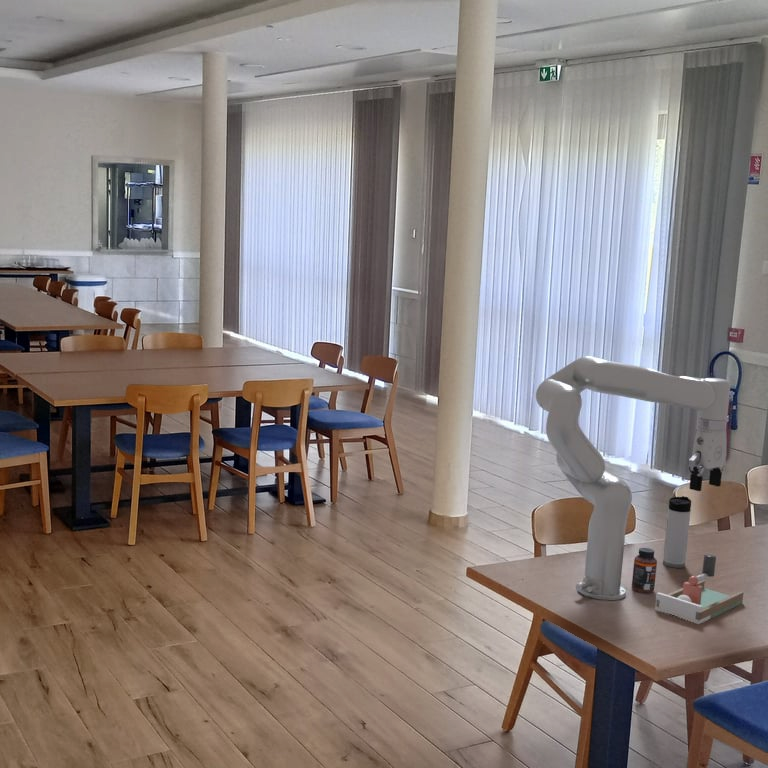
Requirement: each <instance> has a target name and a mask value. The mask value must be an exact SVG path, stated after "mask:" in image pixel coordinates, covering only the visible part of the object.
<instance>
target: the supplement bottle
mask: <svg viewBox="0 0 768 768" xmlns="http://www.w3.org/2000/svg"><path fill="white" fill-rule="evenodd" d="M633 560H634V562H633V569H632V580H631V588H632V590H633V591H634V592H637V593H640V594H641V593H642V594H651V593H653V592H655V588H656V587H655V586H656V576H657V575H656V574H657V567H658V566H657V564H658V560H657V558H656V557H655V550H654V549H653V548H649V547H639V548H638V555H635V557H634V559H633Z"/></svg>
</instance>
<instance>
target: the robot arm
mask: <svg viewBox="0 0 768 768" xmlns="http://www.w3.org/2000/svg"><path fill="white" fill-rule="evenodd" d="M586 389H587V390H588V391H589V390H590V391H592V392H596V393H600V394H605V395H611V396H617V397H624V398H629V399H634V400H640V401H643V402H650V403H659V404H663V405H669V406H673V407H677V408H678V407H679V408H685V409H690V410H696V411H697V417H696V427H695V429H696V432H695V436H694V442H693V446H692V447H693V448H692V455H691V457H690V458H689V460H688V466H689V467H688V469H689V474H690V477H689V479H690V480H689V489H690V490H692V491H697V492H701V491H702V487H703V486H702V485H703V476H702V474H703V473H704V471H705V469H706V470H709V478H708V484H709V486H714V487H721V485H722V477H723V476H722V475H723V471H724V466H725V465H726V463H727V461H726V460H727V456H728V454H727V444H728V439H727V422H728V413H729V404H730V403H729V402H730V395H731V383H730V381H729V380H727V379H724V378H719V377H718V378H717V377H705V378H701V377H692V376H687V375H686V376H685V375H680V376H677V375H672V374H669V373H665V372H661V371H659V370H656V369H653V368H649V367H645V366H640V365H633V364H628V363H623V362H617V361H612V360H606V359H602V358H598V357H595V356H591V355H586V356H585V355H584V356H582V357H579V358H577V359H575V360H573V361H572V362H570V363H569V364H567V365H565V366H563V367H562V368H560V369H559V370H558V371H557V372H555V373H554V374H552V375H550V376H549V377H547V378H546V379H544V380H543V381H542V382H541V383H540V384H539V385H538V387H537V389H536V392H535V401H536V402H537V404H538V406H539V408H541V409H542V410H545V411H546V412H548V414H547V416H546V417H547V418H546V424H545V432H546V437H547V440H548V441H549V443H550V445H551V446H552V447H553V449H554V451H555V452H556V456H555V457H556V458H555V459H556V463H557V465H558V468H559V469H560V471H561V472H562V474H563V475H564V476H565V477H566V478H567V480H568V481H569V483H570V484H571V485H572V486H573V487H574V488H575V490H576V491H577V492H578V493H579V495H581V497H582V498H583V499H585V500H586V501H587V502H588V503H590V504H592V505H593V511H592V513H591V516H590V519H589V523H588V531H587V533H588V534H587V543H586V555H585V556H586V557H585V567H584V575H583V579H582V581H581V582H579V583H577V584H576V585H575V590H576V591H577V592H578V593H580V594H582V595H584V596H585V597H589V598H593V599H597V600H605V601H616V600H622V599H624V598H625V597H626V593H627V590H626V588H624V586H621V584H622V582H621V581H622V573H623V572H622V571H623V560H624V553H625V552H624V551H625V540H626V529H627V523H628V517H629V512H630V510H631V508H632V507H631V506H632V500H633V494H632V490H631V488H630V486H629V485H628V484H627V482H626V481H625V480H623V479H622V478H620V477H618V476H617V475H615V474H613V473H611V472H609V471H607V470H606V462H605V460H604V457H603V456H602V453H601V452H600V451H599V450H598V449H597V448H596V447H595V446H594V444H593V443H592V442H591V440H590V439H589V438H588V437H587V435H586V434H585V433H584V431H583V429H582V428H581V427H580V424H579V416H580V413H581V409H582V406H583V405H582V404H583V399H582V395H581V393H582V392H583V391H585V390H586Z"/></svg>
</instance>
